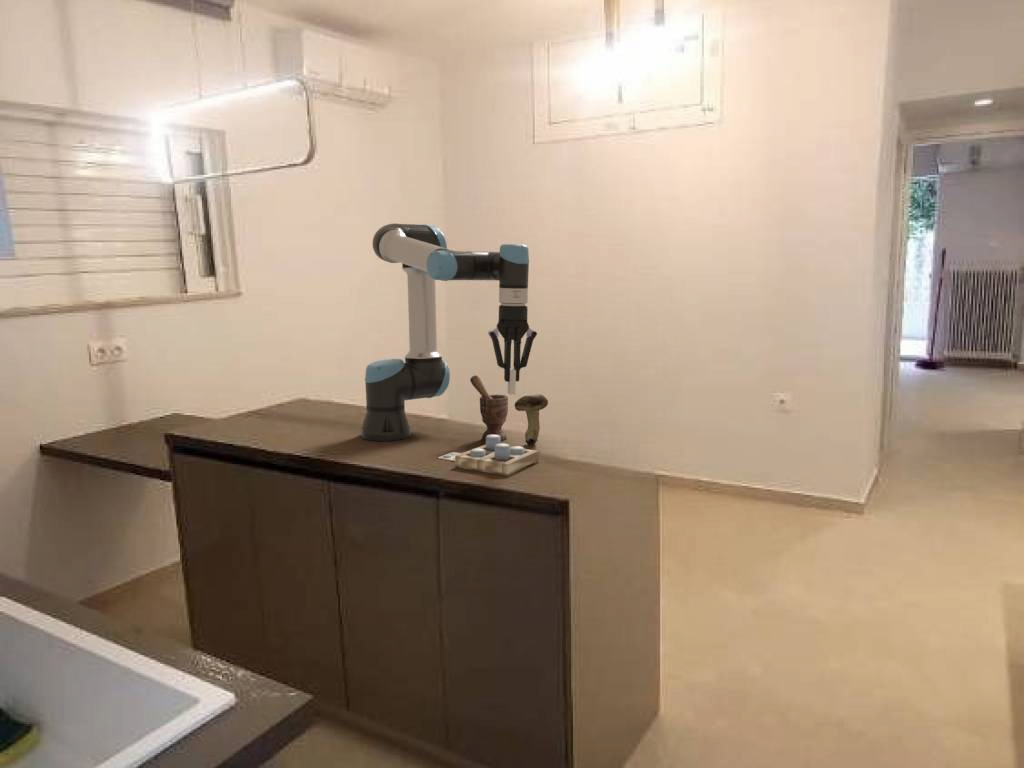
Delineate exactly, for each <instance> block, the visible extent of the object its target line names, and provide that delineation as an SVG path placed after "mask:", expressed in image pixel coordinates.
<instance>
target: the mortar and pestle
mask: <svg viewBox="0 0 1024 768" xmlns="http://www.w3.org/2000/svg"><path fill="white" fill-rule="evenodd" d="M469 381H470V383H471V385H472V386H473V388H474V389H475V390H476V391H477V392H478V393H479V394H480V397H479V410H480V411H479V412H480V414H481V415H480V416H481V421H482V422H483V424H484V425H486V430H485V431H484V432H483V433H482V440H484V441H486V436H487V435H499V436H501V441H504V440H506V439H507V433H506V432H505V431H504V430H503V429H502V426H503V425H504V424H505V422H506V421H507V417H508V412H509V396H508V395H503V394H489V393H488V391H487V389H486V386H485V385H484V383H483V381H482V380H481V378H480V377H479V376H478V375H476V374H475V375H473V376H471V377H470V379H469Z"/></svg>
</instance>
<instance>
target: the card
mask: <svg viewBox="0 0 1024 768" xmlns="http://www.w3.org/2000/svg"><path fill="white" fill-rule="evenodd" d="M462 453H463V452H461V453H460V452H456V451H455V452H454V451H453V452H450V453H449V452H448V453H447V454H444V455H441V456H439V457H437V459H439V460H445V461H450V462H455V456H456V455H459V454H462Z"/></svg>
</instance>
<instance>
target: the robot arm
mask: <svg viewBox="0 0 1024 768" xmlns="http://www.w3.org/2000/svg"><path fill="white" fill-rule="evenodd" d="M447 245H448V243H447V241H446V237H445V235H444V233H443V232H442V231H441V229H440V228H438V227H437V226H434V225H430V224H429V225H428V224H414V223H413V224H412V223H411V224H410V223H409V224H407V223H389V224H386V225H383V226H382V227H380V228H378V230H376V232H375V234H374V236H373V238H372V249H373V252H374V254H375V255H376V256H377V257H378V258H379V259H380V260H382V261H384V262H387V263H390V264H398V263H400V264H401V265H402V266H401V268H402V270H403V272H404V273H405V274H406V275H407V276H406V277H407V302H408V303H407V304H408V305H407V306H408V308H407V309H408V334H409V335H408V336H409V338H408V339H409V351H408V353H406V354H405V355H404V360H403V359H401V358H389V359H382V360H380V359H379V360H378V361H377V360H376V361H374V362H371V363H369V364H368V365H367V366H366V368H365V377H364V382H365V406H366V412H365V415H364V419H363V423H362V427H361V429H360V435H361V438H362V439H364V440H366V441H367V440H368V441H373V442H375V441H376V442H377V441H378V442H386V441H388V442H390V441H399V440H403V439H404V440H405V439H407V438H409V437H410V436H411V435H412V433H411V432H412V431H411V430H412V428H411V426H410V425H409V420H408V418H407V414H406V411H405V410H406V409H405V406H406V405H405V401H412V400H419V399H425V398H426V399H431V398H434V397H440V396H442V395H443V394H444V393H445V392H446V391H447V389H448V387H449V384H450V380H451V372H450V371H451V370H450V368H449V365H448V363H447V362H446V361H444V360H443V355H442V354H441V353H440V352H439V351H438V344H437V343H438V341H437V337H438V336H437V334H438V333H437V303H436V301H437V300H436V299H437V298H436V297H437V296H436V295H437V294H436V293H437V292H436V281H441V282H442V281H443V282H447V281H499V282H498V283H499V285H498V287H499V288H498V302H499V304H500V305H499V306H498V322H497V324H496V327H495V328H494V329H492V330H488V332H487V333H488V334H487V335H489V337H490V339H491V341H492V346H493V351H494V355H495V359H496V360H495V361H496V364H497V366H498V367H499V368H501V369H503V371H504V377H503V378H504V382H506V383H507V394H509V395H516V389H517V386H516V384H517V383H516V382H519V381H520V372H521V371H520V370H521V369H523V368H526V367H527V366H528V362H529V358H530V354H531V350H532V348H533V347H532V346H533V342H534V339H535V338H536V337H537V335H538V333H537V331H536V330H533V329H531V328H530V325H529V322H528V313H529V311H528V308H529V307H528V306H527V304H528V302H529V300H528V297H529V292H528V291H529V264H530V258H529V255H530V254H529V253H530V252H529V247H528V246H527V245H526V244H517V243H515V244H513V243H512V244H511V243H510V244H509V243H505V244H504V243H503V244H501V245H500V246H499V252H498V251H467V250H466V251H464V250H463V251H462V250H451V249H449V248H448V246H447ZM499 334H500V335H499ZM525 334H526V339H525V343H524V347H523V351H522V355H521V346H522V339H523V338H524V336H525ZM499 336H501V337H502V338H503V342H504V347H503V348H504V349H503V351H504V352H503V355H502V350H501V349H502V348H501V345H500V341H499V338H498V337H499ZM512 341H513V342H512ZM512 343H513V365H512V366H513V368H511V367H512V366H511V364H512V361H511V359H512ZM404 361H405V362H404Z"/></svg>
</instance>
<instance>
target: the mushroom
mask: <svg viewBox="0 0 1024 768" xmlns="http://www.w3.org/2000/svg"><path fill="white" fill-rule="evenodd" d="M548 404H549V400H548V398H547V397H546V396H544V395H542V394H539V393H538V394H528V395H523V396H522V397H520V398H519V399H517V400H516V401H515V403H514V409H515V410H517V411H518V412H525V413H526V418H527V423H528V424H527V429H526V431H525V433H524V438H525V442H526V444H527V445H528V446H535V445H536V443H537V442H539V440H538V438H539V433H540V430H541V428H540V427H541V426H540V411H541V410H543V409H545V408H546V407H547V406H548Z"/></svg>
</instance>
